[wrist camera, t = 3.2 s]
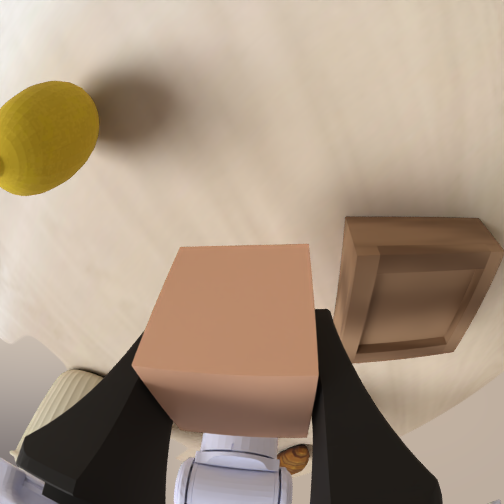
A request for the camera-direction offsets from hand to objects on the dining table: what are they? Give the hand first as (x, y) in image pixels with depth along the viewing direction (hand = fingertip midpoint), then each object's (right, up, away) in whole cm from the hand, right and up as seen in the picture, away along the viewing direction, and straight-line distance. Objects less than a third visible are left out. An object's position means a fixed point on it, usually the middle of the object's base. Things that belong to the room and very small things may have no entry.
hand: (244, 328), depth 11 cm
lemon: (-10, +11, +4) cm, 15 cm away
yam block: (0, +1, +1) cm, 2 cm away
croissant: (+7, -34, +37) cm, 51 cm away
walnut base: (+11, +1, +10) cm, 15 cm away
